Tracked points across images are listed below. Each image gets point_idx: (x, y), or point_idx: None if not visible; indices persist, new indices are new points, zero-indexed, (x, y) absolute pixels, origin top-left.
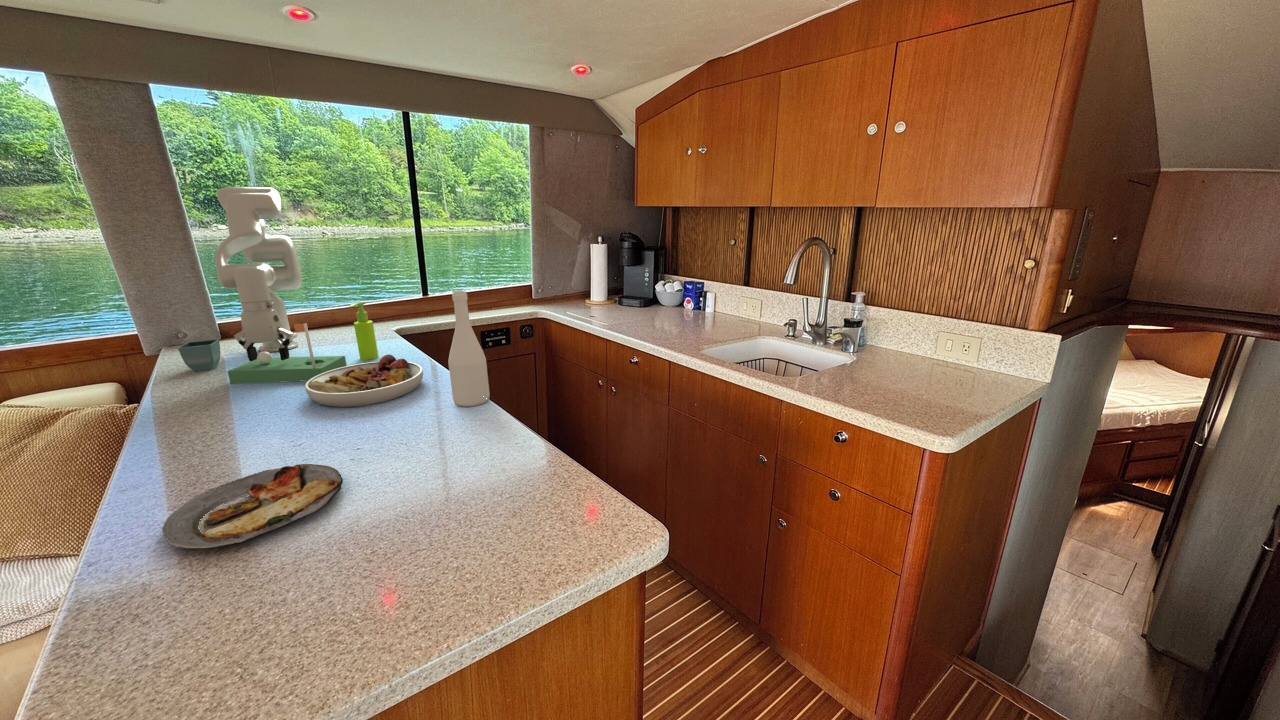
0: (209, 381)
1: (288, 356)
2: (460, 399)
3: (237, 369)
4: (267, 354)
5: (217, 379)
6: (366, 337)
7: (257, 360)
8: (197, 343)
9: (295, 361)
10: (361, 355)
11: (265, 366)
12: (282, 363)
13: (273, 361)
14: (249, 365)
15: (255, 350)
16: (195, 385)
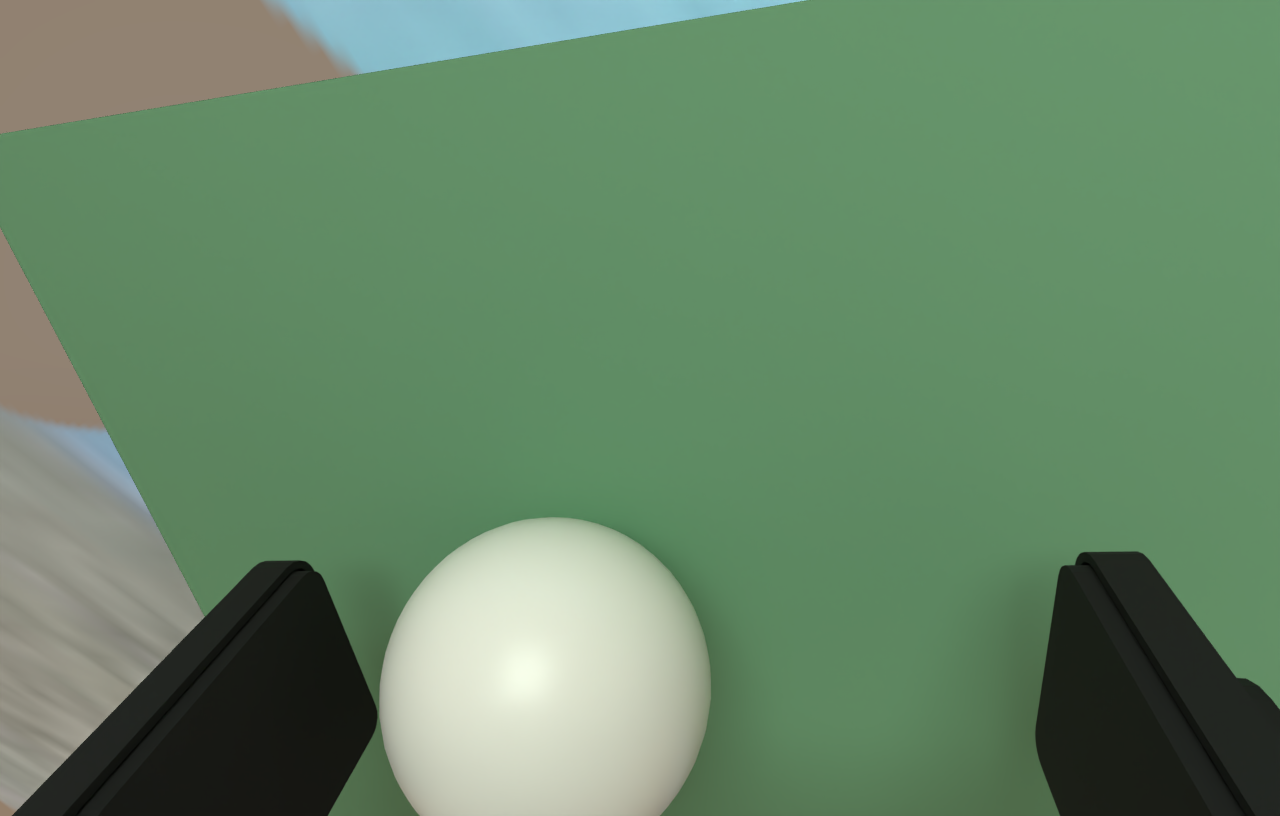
0: (95, 607)
1: (1150, 593)
2: None
3: (395, 806)
4: (661, 809)
5: (96, 551)
6: None
7: (159, 342)
8: None
9: (1231, 458)
10: None
11: (729, 731)
12: (958, 588)
13: (611, 434)
14: (368, 650)
15: (177, 766)
16: (113, 703)
